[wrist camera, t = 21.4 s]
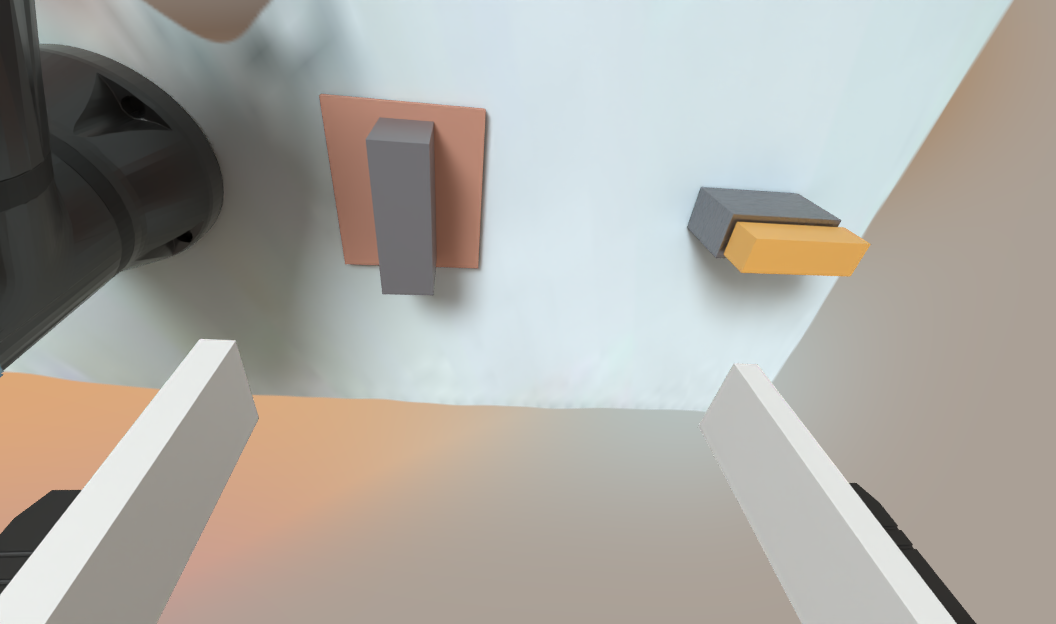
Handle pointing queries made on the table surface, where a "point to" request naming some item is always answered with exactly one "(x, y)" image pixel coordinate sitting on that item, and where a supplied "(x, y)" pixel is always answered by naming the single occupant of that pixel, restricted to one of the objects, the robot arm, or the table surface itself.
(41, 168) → the robot arm
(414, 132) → the tall gray pillar
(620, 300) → the table surface
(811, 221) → the gray rectangular box
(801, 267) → the orange rectangular beam
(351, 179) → the mat
